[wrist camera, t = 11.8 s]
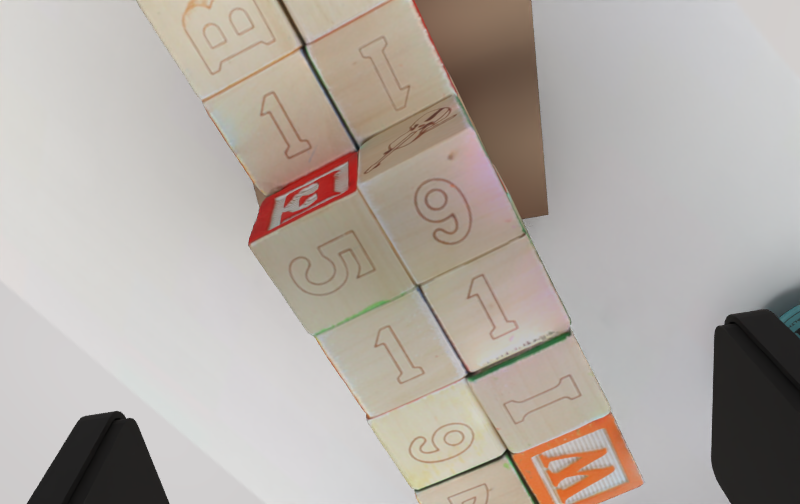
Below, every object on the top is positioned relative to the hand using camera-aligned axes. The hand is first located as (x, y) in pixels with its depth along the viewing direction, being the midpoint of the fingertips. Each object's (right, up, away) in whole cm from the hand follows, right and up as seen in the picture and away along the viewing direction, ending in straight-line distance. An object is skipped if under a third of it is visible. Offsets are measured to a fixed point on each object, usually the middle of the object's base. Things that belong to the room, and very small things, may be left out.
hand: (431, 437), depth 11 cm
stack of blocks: (-1, +8, +17) cm, 19 cm away
